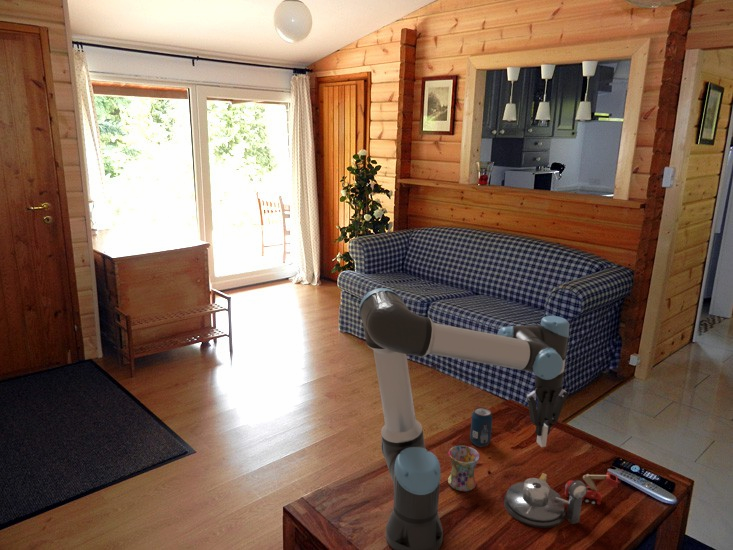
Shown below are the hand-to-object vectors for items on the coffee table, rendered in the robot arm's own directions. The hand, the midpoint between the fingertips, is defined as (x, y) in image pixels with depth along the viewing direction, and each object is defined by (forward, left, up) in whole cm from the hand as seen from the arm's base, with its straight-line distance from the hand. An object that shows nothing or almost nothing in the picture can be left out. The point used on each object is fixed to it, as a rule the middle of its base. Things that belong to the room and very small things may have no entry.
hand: (541, 444), depth 163 cm
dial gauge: (+3, -12, -16) cm, 21 cm away
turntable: (-4, -6, -15) cm, 17 cm away
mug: (-20, +10, -17) cm, 28 cm away
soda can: (-4, +29, -17) cm, 34 cm away
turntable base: (-4, -6, -16) cm, 18 cm away
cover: (-4, -6, -14) cm, 15 cm away
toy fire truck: (+14, -7, -17) cm, 23 cm away
